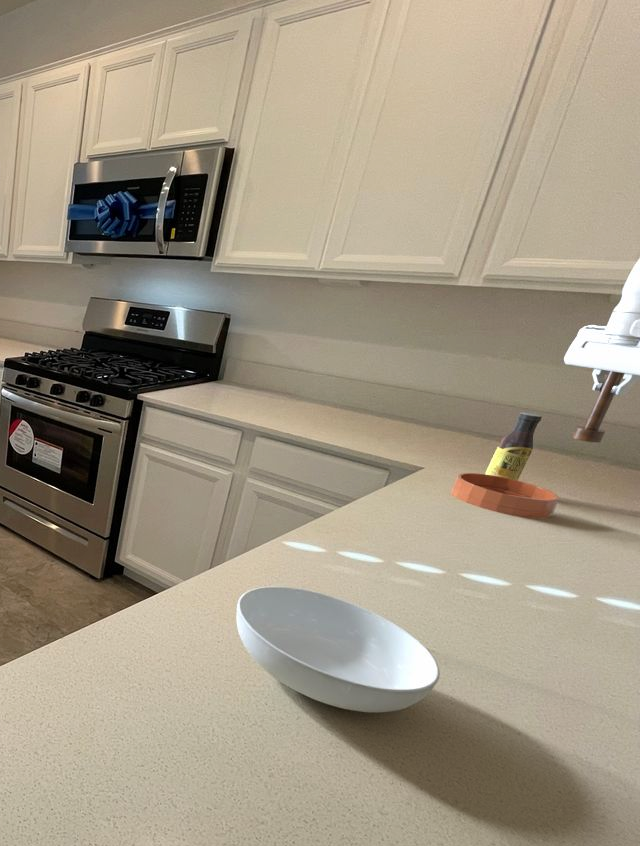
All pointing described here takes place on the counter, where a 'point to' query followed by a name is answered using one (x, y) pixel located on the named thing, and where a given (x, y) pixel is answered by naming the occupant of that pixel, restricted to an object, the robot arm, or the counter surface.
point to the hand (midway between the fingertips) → (608, 392)
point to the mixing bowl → (505, 495)
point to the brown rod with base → (599, 411)
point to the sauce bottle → (514, 448)
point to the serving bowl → (334, 650)
